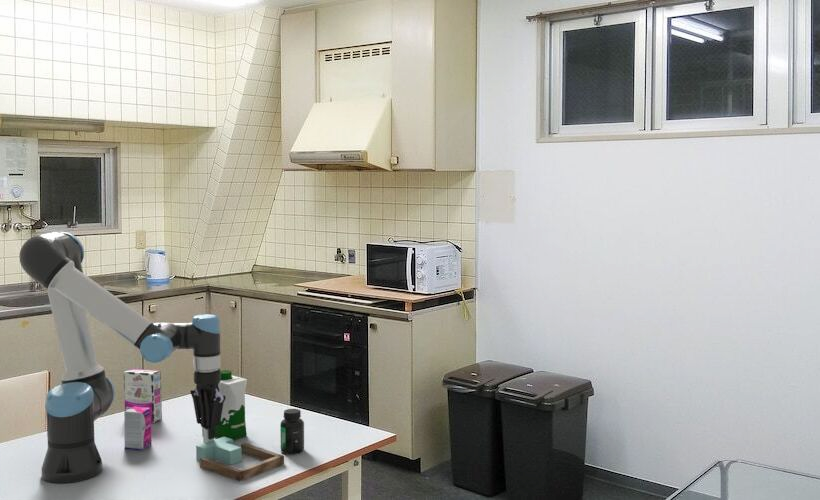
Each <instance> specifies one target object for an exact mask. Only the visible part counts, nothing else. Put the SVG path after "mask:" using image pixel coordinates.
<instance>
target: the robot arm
mask: <svg viewBox="0 0 820 500" xmlns="http://www.w3.org/2000/svg"><path fill="white" fill-rule="evenodd" d="M84 258H85V249H84V246H83V244H82V242H81V241H80V239H79V238H77V236H75V235H74V234H71V233H69V232H67V231H66V232H65V231H52V232H47V233H43V234H38V235H34V236H31V237H30V238H28V239H26V240H25V242H24V243H23V245H22V246H21V248H20V252H19V258H18V259H19V264H20V266H21V268H22V269H23V271H24V272H25V274H27V275H28V276H29V277H30V278H31V279H32V280H34V281H35V282H37V283H38V284H39V285H40V286H41V287H43V288H45V289H46V292H47V296H48V300H49V305H50V309H51V313H52V318H53V321H54V322H53V323H54V328H55V331H56V335H57V340H58V343H59V344H58V345H59V348H60V349H59V350H60V354H61V357H62V363H63V366H64V370H65V371H64V373H63V375H62V376H61V378H60V381H61V385H56V386H54V387H53V388H51V389H50V390H49V391H48V392H47V394H46V398H45V399H46V400H45V401H46V402H45V405H44V407H45V411H46V413H45V414H46V431H47V432H46V434H47V435H46V437H47V449H46V453H45V456H44V458H43V459H44V460H43V462H42V466H41V479H42V480H44V481H46V482H49V483H55V484H56V483H57V484H65V483H67V484H68V483H76V482H81V481H85V480H88V479H91V478H93V477H95V476H97V475H99V474H100V473H101V472H102V471H103V459H102V457H101V455H100V452H99V449H98V447H97V445H96V442H95V421H96V420H97V419H98V418H100V417H101V416H102V415H104V414H105V413H106V412H107V411H108V409H110V407H111V405H112V403H113V402H114V399H115V393H116V392H115V386H114V384H113V382H112V381H111V379H110V378H109V377H107V376H106V371H105V367H103V366H102V365H100V364H98V362H97V357H96V353H95V348H94V344H93V339H92V338H93V337H92V335H91V330H90V326H89V321H88V317H87V314H88V315H90V316H92V317H93V318H95V319H96V320H98V321H99V322H101V324H104V326H106V327H107V328H109V329H110V330H112V331H113V332H114V333H116V334H117V335H119V336H120V337H122V338H123V340H126V341H127V342H129V343H130V344H131V345H133V346H134V347H136V348H137V349H138V350H139V351H140V355H141V357H142V358H143V360H145V361H147V362H149V363H153V364H154V363H160V362H162V361H166V360H167V358H169V357H170V356H171V355H172V353H174V352H175V351H176V350H192V353H193V354H192V356H193V357H192V359H193V361H192V363H193V364H192V368H193V369H194V370H193V383H194V384H195V385H196V386H195V388H194V389H191V390H190V395H191V398H192V401H193V402H192V403H193V407H194V413H195V418H196V419H195V420H196V423H197V424H198V425H199V424H200V427H201V429H202V433H201V434H202V435H201V436H202V439H203V441H202V442H203V443H206V442H209V441H212V440H215V438H216V437H215V427H217V426H220V422H221V415H222V409H223V403H224V401H225V399H226V397H225V395H223V396H222V395H221V394H220V393H219V387H218V384H219V382H220V381H221V371H222V370H221V369H220V368H221V328H220V326H221V325H220V318H219V316H218V315H215V314H206V313H205V314H197V315H194V316H193V317H192V320H191V321H190V322H165V321H163V322H152V321H150V320H149V319H148V318H147V317H145V316H144V315H142V314H141V313H139V312H137V310H135V309H134V308H132V307H131V306H130V305H128V304H127V303H126V302H125V301H123V300H122V299H120V298H118V297H117V296H115V295H114V294H113V293H112V292H110V291H109V290H107V289H106V288H104V287H103V286H101V285H100V284H99V283H97V282H95V281H94V280H93V279H92V278H91V277H89V276H88V275H86V274H84V272H83V271H84V270H83V266H82V263H83V261H84ZM203 443H202V444H203Z"/></svg>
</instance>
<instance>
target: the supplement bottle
mask: <svg viewBox="0 0 820 500" xmlns="http://www.w3.org/2000/svg"><path fill="white" fill-rule="evenodd" d="M301 413H302V412H301V410H300V409H297V408H288V409H285V410H283V419H282V420H281V422H280V425H279V426H280V429H279V431H280V432H279V433H280V452H281V453H282V454H283V455H292V456H293V455H298V454H301V453H303V452H304V451H305V422H304V420H303V419H302V415H301Z"/></svg>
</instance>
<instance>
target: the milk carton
mask: <svg viewBox="0 0 820 500" xmlns="http://www.w3.org/2000/svg"><path fill="white" fill-rule="evenodd" d="M247 382H248V378H247V379H246V378H243V377H241V376H236V375H233V374H232V370H228V369H225V370H224V369H223V370H221V381H220V382H219V384H218V387H219V393H220V394H221V395H222V396H223V395H225V397H226V399H225V401H224V403H223V409H222V415H221V422H220V426H217V427H215V438H216V439H218V438H221V437H227V438H230V439H233V441H235V440H238V439H241V438H244V437H247V434H248V433H247V425H246V424H247V423H246V387H247Z"/></svg>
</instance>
